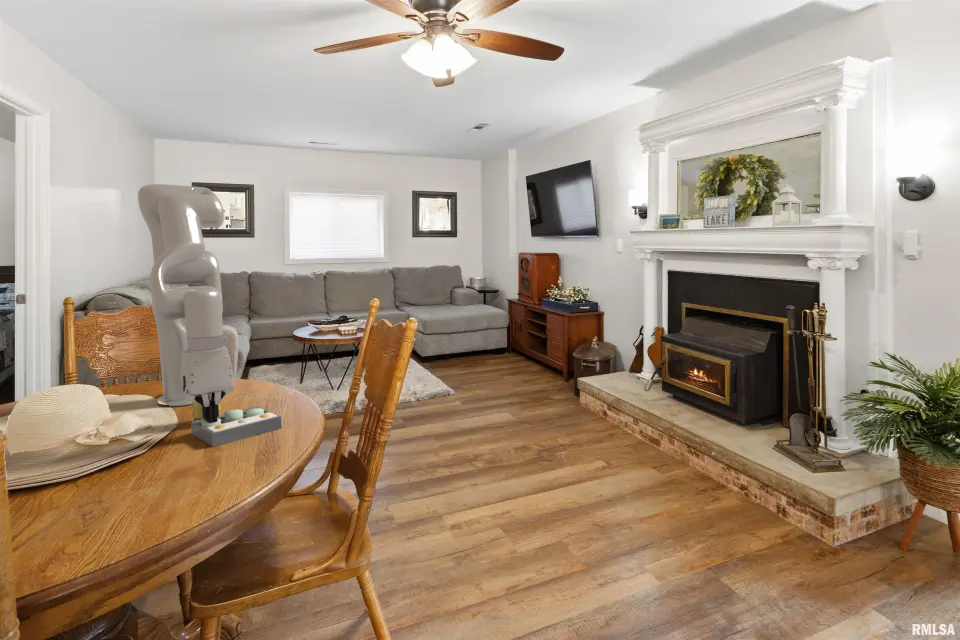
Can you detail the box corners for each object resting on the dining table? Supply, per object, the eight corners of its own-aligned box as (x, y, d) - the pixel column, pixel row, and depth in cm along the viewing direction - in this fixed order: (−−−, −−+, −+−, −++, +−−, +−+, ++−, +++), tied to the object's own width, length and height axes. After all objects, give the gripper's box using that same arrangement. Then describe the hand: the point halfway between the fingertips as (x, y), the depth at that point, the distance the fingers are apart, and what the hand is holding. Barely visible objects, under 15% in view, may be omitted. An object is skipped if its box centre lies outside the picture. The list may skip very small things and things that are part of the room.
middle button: (222, 424, 126) (221, 412, 126) (238, 420, 129) (238, 408, 129) (229, 428, 124) (228, 415, 123) (246, 423, 127) (245, 411, 126)
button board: (191, 434, 124) (190, 420, 123) (258, 417, 136) (257, 405, 135) (213, 446, 116) (212, 432, 115) (281, 428, 128) (280, 414, 127)
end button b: (244, 422, 130) (243, 411, 130) (259, 418, 133) (259, 407, 133) (251, 426, 128) (250, 414, 127) (267, 422, 131) (266, 410, 130)
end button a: (199, 433, 123) (198, 421, 122) (217, 429, 126) (216, 417, 125) (206, 437, 120) (205, 425, 120) (224, 433, 123) (223, 420, 123)
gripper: (231, 337, 128) (236, 410, 130) (163, 346, 117) (170, 425, 119) (245, 341, 123) (250, 416, 125) (175, 350, 112) (182, 433, 114)
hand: (211, 421), depth 122 cm, fingers closed
